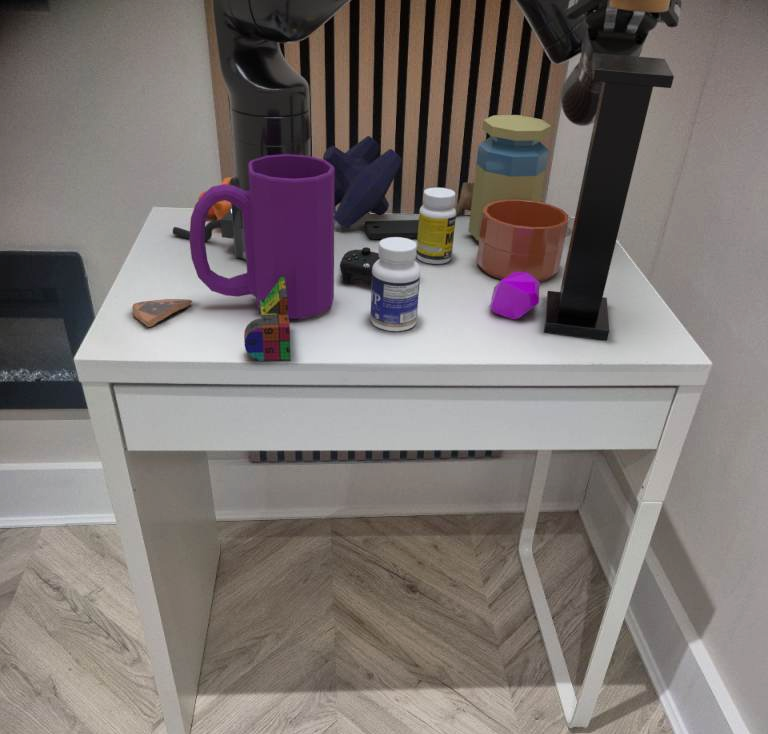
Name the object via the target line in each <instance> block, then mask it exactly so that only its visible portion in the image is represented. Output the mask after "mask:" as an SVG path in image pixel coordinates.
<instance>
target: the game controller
mask: <svg viewBox="0 0 768 734" xmlns="http://www.w3.org/2000/svg"><path fill="white" fill-rule="evenodd" d="M379 259H380V258H379V254H378V252H376V251H371V247H367V246H366V247H362V249H352V250H349V251H347V252H346V253H344V254H343V256H342V258H341V260H340V264H339V270H340V274H341V281H342V282H343V283H351V281H352V280H353V279H358V280H362V281H367V282H370V283H372V268H373V265H374V263H375V262H376V261H377V260H379Z"/></svg>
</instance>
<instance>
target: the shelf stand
mask: <svg viewBox="0 0 768 734" xmlns="http://www.w3.org/2000/svg"><path fill="white" fill-rule="evenodd" d="M591 67H592V77H593V81H595V82H602V86H601V91H600V96H599V101H598V106H597V111H596V116H595V121H594V123H593V127H592V131H591V136H590V142H589V146H588V151H587V156H586V161H585V166H584V171H583V175H582V179H581V186H580V191H579V195H578V199H577V200H578V201H577V205H576V209H575V215H574V220H573V225H572V231H571V235H570V239H569V240H570V241H569V245H568V250H567V255H566V260H565V265H564V269H563V275H562V281H561V285H560V289H559V291H555V290H547V293H546V297H545V308H544V326H543V333H546V334H553V335H561V336H568V337H569V336H570V337H576V338H584V339H593V340H601V341H608V339H609V335H610V321H609V320H610V319H609V307H608V297H604V294H605V289H606V285H607V281H608V276H609V274H610V269H611V265H612V260H613V256H614V252H615V247H616V243H617V240H618V236H619V231H620V227H621V222H622V218H623V214H624V210H625V207H626V202H627V198H628V193H629V189H630V185H631V181H632V178H633V172H634V169H635V164H636V160H637V157H638V151H639V148H640V144H641V140H642V135H643V131H644V127H645V123H646V118H647V115H648V110H649V105H650V101H651V97H652V94H653V91H654V90H653V89H654V88H663V89H664V88H665V89H672V86H673V83H674V78H675V75H674V74H673V71H672V69H671V68H670V66H669V64H668V62H667V60H666V58H658V57H648V56H639V57H637V56H625V55H613V54H601V53H593V56H592V62H591Z"/></svg>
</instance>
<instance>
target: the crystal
mask: <svg viewBox="0 0 768 734" xmlns="http://www.w3.org/2000/svg"><path fill="white" fill-rule="evenodd" d="M540 288H541V281H540V282H539V281H537V280H536V279H535V278H534V277H533V276H531V275H530V274H529V273H526V272H513V273H512V274H510V275H509V276H507V277H506V278H504V279H500V281H498V283H497V284H495V285H494V287H493V291H492V293H491V294H492V295H491V299H490V304H489V307H490V308H491V310H492V312H493V313H494V314H495V315H496V314H497V315H499V316H502V317H504V318H508V319H510V320H517V319H520V318H521V317H523V316H524V315H526V314H527V313H528V312H529V311H531V310H532V309H533V308H534V307H536V306H538V304H539V302H540V290H541V289H540Z"/></svg>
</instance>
